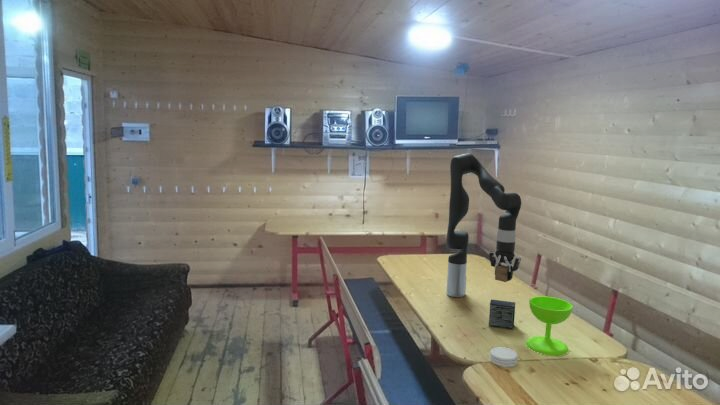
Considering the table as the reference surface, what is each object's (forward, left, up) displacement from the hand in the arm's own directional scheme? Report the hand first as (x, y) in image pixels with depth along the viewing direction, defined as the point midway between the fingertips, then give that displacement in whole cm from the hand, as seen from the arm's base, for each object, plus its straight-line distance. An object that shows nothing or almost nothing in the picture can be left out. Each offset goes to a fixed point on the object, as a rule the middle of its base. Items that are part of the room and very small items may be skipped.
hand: (503, 278), depth 213 cm
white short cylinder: (+29, +17, -22) cm, 41 cm away
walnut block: (0, 0, -1) cm, 1 cm away
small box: (-1, 0, -22) cm, 22 cm away
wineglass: (+5, +23, -22) cm, 32 cm away
